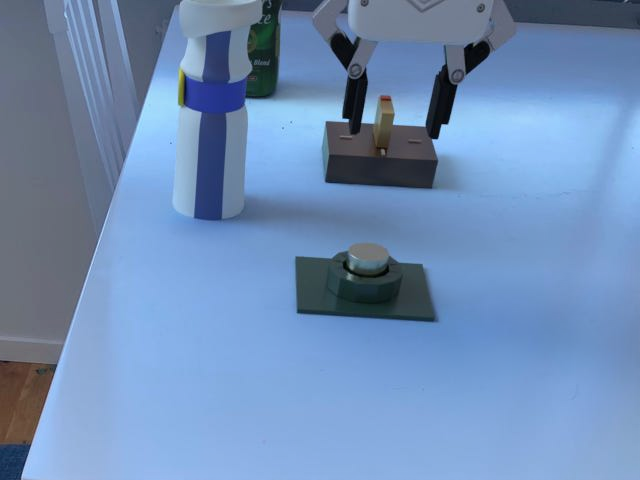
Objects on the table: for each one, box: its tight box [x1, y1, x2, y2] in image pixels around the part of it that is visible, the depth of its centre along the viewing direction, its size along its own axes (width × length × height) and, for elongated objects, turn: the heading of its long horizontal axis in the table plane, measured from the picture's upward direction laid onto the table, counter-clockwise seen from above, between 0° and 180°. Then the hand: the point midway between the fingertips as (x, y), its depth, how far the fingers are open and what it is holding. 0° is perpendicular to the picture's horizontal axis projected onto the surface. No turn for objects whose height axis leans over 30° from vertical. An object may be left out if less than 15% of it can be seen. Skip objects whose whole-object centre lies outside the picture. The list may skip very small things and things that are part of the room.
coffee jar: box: [246, 0, 283, 97], centre depth 119 cm, size 10×8×19 cm
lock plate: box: [321, 120, 439, 189], centre depth 108 cm, size 12×10×3 cm
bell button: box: [345, 242, 390, 278], centre depth 84 cm, size 4×4×2 cm
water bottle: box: [172, 0, 262, 221], centre depth 92 cm, size 8×9×25 cm
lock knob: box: [373, 94, 396, 148], centre depth 105 cm, size 5×1×4 cm, turn 175°
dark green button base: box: [294, 250, 436, 323], centre depth 86 cm, size 12×10×4 cm
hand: (392, 128), depth 76 cm, fingers open, 5 cm apart
